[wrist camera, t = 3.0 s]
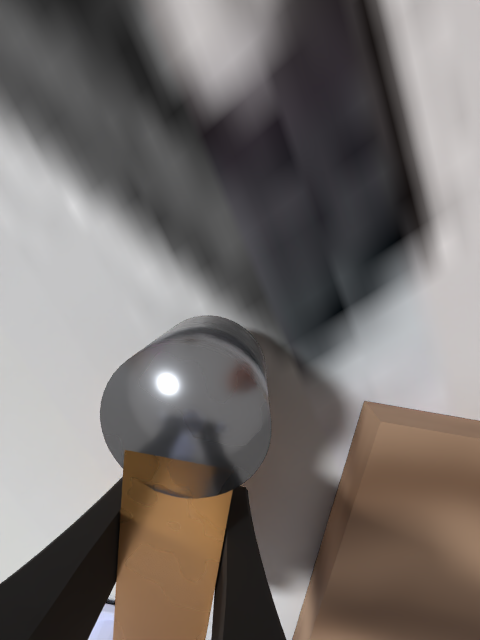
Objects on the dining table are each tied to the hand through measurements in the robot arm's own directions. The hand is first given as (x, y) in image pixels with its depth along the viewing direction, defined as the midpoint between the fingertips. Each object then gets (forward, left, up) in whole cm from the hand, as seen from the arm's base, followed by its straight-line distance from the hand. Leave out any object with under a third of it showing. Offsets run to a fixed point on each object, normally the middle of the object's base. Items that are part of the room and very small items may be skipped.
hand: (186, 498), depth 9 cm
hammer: (0, 0, -2) cm, 2 cm away
